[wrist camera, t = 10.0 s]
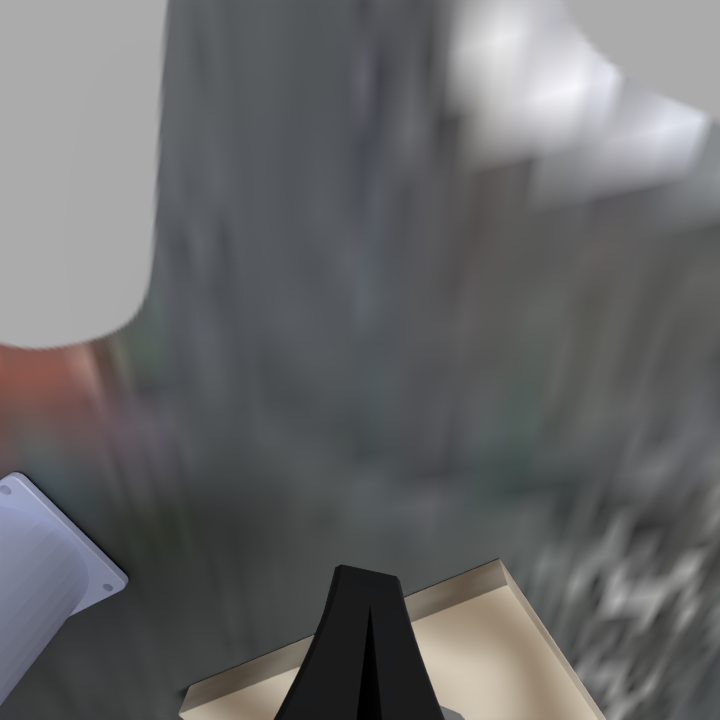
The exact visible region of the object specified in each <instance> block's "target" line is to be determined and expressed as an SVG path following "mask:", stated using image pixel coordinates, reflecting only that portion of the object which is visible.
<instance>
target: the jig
mask: <svg viewBox="0 0 720 720" xmlns="http://www.w3.org/2000/svg"><path fill="white" fill-rule="evenodd" d="M404 600H405V604H406V608H407V611H408V615H409V618H410V622H411V625H412V628H413V631H414V634H415V638H416V641H417V644H418V647H419V650H420V653H421V656H422V659H423V662H424V665H425V667H426V670H427V673H428V676H429V678H430V681H431V684H432V687H433V689H434V692H435V695H436V698H437V700H438V703H439V705H440V708H441V711H442V713H443V716H444V718H445V720H606V719H605V717H604V716H603V714H602V712H601V711H600V709H599V708H598V706H597V705H596V703H595V702H594V700H593V699H592V697H591V696H590V694H589V693H588V691H587V690H586V688H585V687H584V685H583V684H582V682H581V681H580V679H579V678H578V676H577V675H576V673H575V672H574V670H573V669H572V667H571V666H570V664H569V663H568V661H567V660H566V658H565V657H564V655H563V654H562V652H561V651H560V649H559V648H558V646H557V645H556V643H555V642H554V640H553V639H552V637H551V636H550V634H549V633H548V631H547V630H546V628H545V627H544V625H543V624H542V622H541V621H540V619H539V618H538V616H537V615H536V613H535V612H534V610H533V609H532V607H531V606H530V604H529V603H528V601H527V600H526V598H525V597H524V595H523V594H522V592H521V591H520V589H519V587H518V586H517V584H516V583H515V581H514V580H513V578H512V577H511V575H510V574H509V572H508V571H507V569H506V568H505V566H504V565H503V563H502V562H501V560H500V559H497V560H495V561H492V562H490V563H487V564H485V565H483V566H480V567H478V568H475V569H473V570H470V571H468V572H466V573H463V574H461V575H458V576H456V577H453V578H451V579H449V580H446V581H444V582H441V583H439V584H436V585H434V586H432V587H429V588H427V589H424V590H422V591H419V592H417V593H415V594H412V595H410V596H407V597H405V598H404ZM313 637H314V635H312V636H310V637H307V638H305V639H303V640H300V641H298V642H295V643H293V644H290V645H288V646H286V647H283V648H281V649H278V650H276V651H273V652H271V653H269V654H266V655H264V656H261V657H259V658H256V659H254V660H252V661H249V662H247V663H244V664H242V665H239V666H237V667H235V668H232V669H230V670H227V671H225V672H222V673H220V674H218V675H215V676H213V677H210V678H208V679H205V680H203V681H200V682H198V683H196V684H193V685H191V686H190V687H189V689H188V692H187V694H186V697H185V699H184V702H183V704H182V707H181V709H180V711H179V714H178V715H180V716H181V717H182V718H183V719H184V720H274V718H275V716H276V714H277V712H278V710H279V708H280V706H281V704H282V703H283V701H284V699H285V697H286V695H287V693H288V691H289V689H290V687H291V685H292V683H293V681H294V679H295V677H296V675H297V673H298V671H299V669H300V667H301V665H302V662H303V660H304V658H305V656H306V654H307V651H308V649H309V647H310V644H311V642H312V640H313Z"/></svg>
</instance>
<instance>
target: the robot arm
mask: <svg viewBox="0 0 720 720" xmlns="http://www.w3.org/2000/svg"><path fill="white" fill-rule="evenodd" d="M127 583H128V577H127V576H126V574H125V573H124V572H123V571H122V570H121V569H119V568H118V567H117V566H116V565H115V564H114V563H113V562H112V561H111V560H110V559H109V558H108V557H107V556H106V555H105V554H104V553H103V552H102V551H101V550H100V549H99V548H98V547H97V546H96V545H95V544H94V543H93V542H92V541H91V540H90V539H89V538H88V537H87V536H86V535H85V534H84V533H83V532H82V531H81V530H80V529H79V528H78V527H77V526H76V525H75V524H74V523H73V522H72V521H70V520H69V519H68V518H67V517H66V516H65V515H64V514H63V513H62V512H61V511H60V510H59V509H58V508H57V507H56V506H55V505H54V504H53V503H52V502H51V501H50V500H49V499H48V498H47V497H46V496H45V495H44V494H43V493H42V492H41V491H40V490H39V489H38V488H37V487H36V486H35V485H34V484H33V483H32V482H31V481H30V480H29V479H28V478H27V477H26V476H24V475H23V474H21V473H18V472H13V473H11V474H9V475H7V476H6V477H4V478H3V479H1V480H0V705H1V704H2V703H3V701H4V700H5V699H6V698H7V696H8V695H9V694H10V692H11V691H12V690H13V688H14V687H15V686H16V685H17V683H18V682H19V681H20V679H21V678H22V677H23V675H24V674H25V673H26V672H27V670H28V669H29V668H30V666H31V665H32V664H33V662H34V661H35V660H36V659H37V657H38V656H39V655H40V653H41V652H42V651H43V649H44V648H45V647H46V646H47V644H48V643H49V642H50V640H51V639H52V638H53V636H54V635H55V634H56V632H57V631H58V630H59V629H60V627H61V626H62V625H63V623H64V622H65V621H66V619H67V618H68V617H70V616H71V615H73V614H75V613H77V612H79V611H81V610H83V609H85V608H87V607H89V606H91V605H93V604H95V603H97V602H99V601H101V600H103V599H105V598H107V597H109V596H111V595H113V594H115V593H117V592H119V591H121V590H123V589H124V588H125V586H126V585H127ZM274 720H445V718H444V716H443V713H442V711H441V708H440V705H439V703H438V700H437V698H436V695H435V692H434V689H433V687H432V684H431V681H430V678H429V676H428V673H427V670H426V667H425V665H424V662H423V659H422V656H421V653H420V650H419V647H418V644H417V641H416V638H415V634H414V631H413V628H412V625H411V622H410V618H409V615H408V611H407V608H406V604H405V600H404V597H403V593H402V589H401V585H400V581H399V580H398V578H397V577H396V576H392V575H388V574H383V573H379V572H374V571H369V570H365V569H360V568H356V567H351V566H346V565H339V566H337V567H335V571H334V575H333V579H332V582H331V586H330V590H329V594H328V598H327V601H326V605H325V609H324V613H323V615H322V618H321V621H320V623H319V626H318V628H317V631H316V633H315V635H314V637H313V640H312V642H311V644H310V647H309V649H308V651H307V654H306V656H305V658H304V660H303V662H302V665H301V667H300V669H299V671H298V673H297V675H296V677H295V679H294V681H293V683H292V685H291V687H290V689H289V691H288V693H287V695H286V697H285V699H284V701H283V703H282V704H281V706H280V708H279V710H278V712H277V714H276V716H275V718H274Z"/></svg>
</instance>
